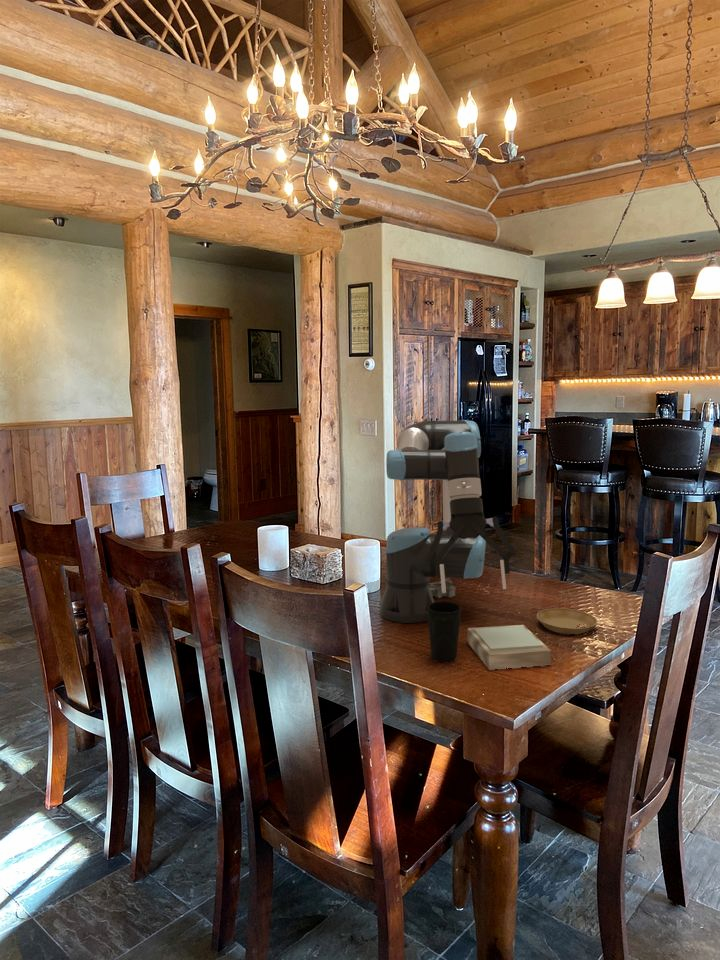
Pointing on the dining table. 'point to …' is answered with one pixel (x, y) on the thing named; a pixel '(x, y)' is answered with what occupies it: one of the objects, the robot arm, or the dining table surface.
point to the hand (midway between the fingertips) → (474, 591)
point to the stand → (508, 647)
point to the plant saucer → (566, 620)
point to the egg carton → (437, 589)
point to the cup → (443, 630)
